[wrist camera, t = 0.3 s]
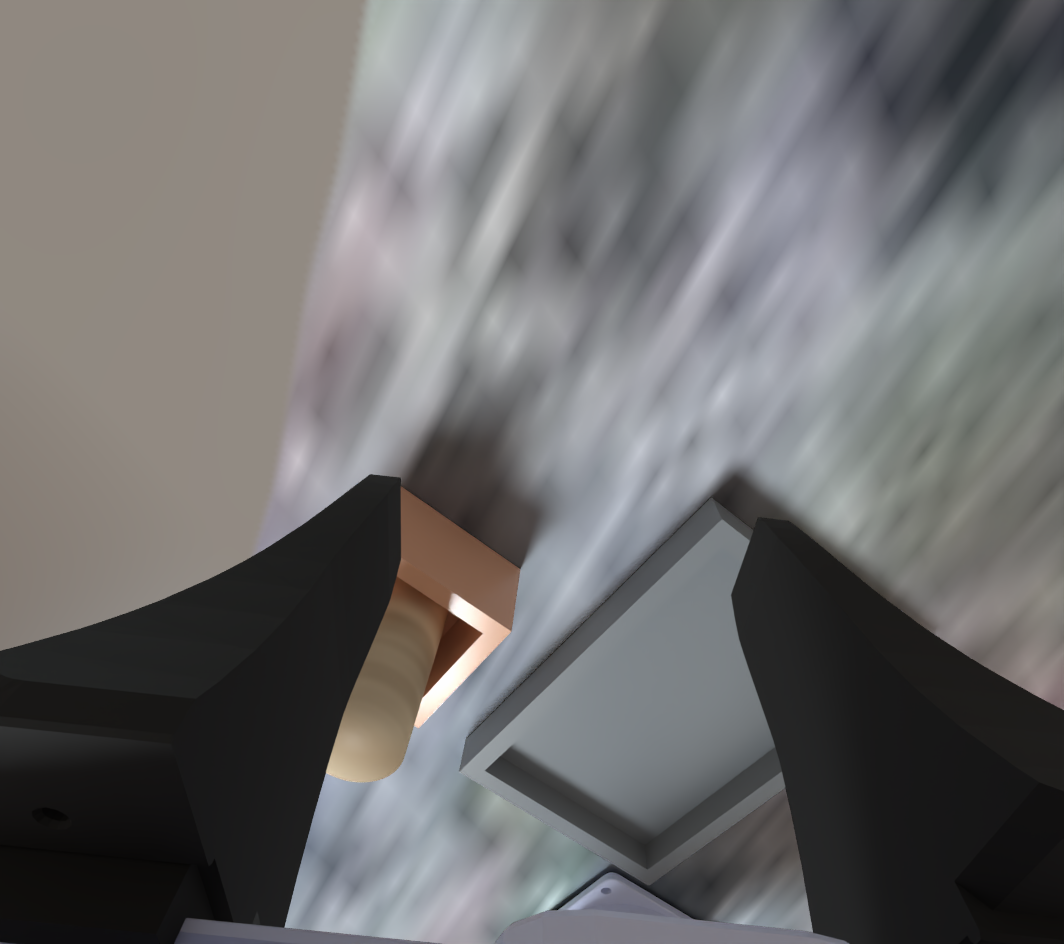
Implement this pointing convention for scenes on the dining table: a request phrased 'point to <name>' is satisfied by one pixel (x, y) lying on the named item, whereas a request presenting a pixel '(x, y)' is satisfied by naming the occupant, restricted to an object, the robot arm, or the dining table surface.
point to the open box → (455, 594)
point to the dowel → (389, 688)
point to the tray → (642, 714)
